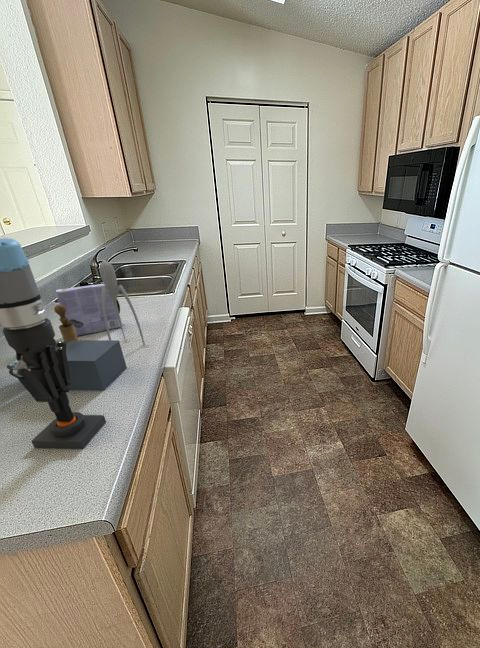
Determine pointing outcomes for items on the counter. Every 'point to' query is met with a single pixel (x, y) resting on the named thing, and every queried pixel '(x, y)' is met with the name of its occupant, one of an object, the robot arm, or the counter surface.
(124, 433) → the counter surface
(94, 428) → the block
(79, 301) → the cake pan box
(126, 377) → the counter surface
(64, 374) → the robot arm
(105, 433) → the counter surface
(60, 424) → the button
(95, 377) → the dark grey box
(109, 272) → the juicer
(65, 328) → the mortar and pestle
